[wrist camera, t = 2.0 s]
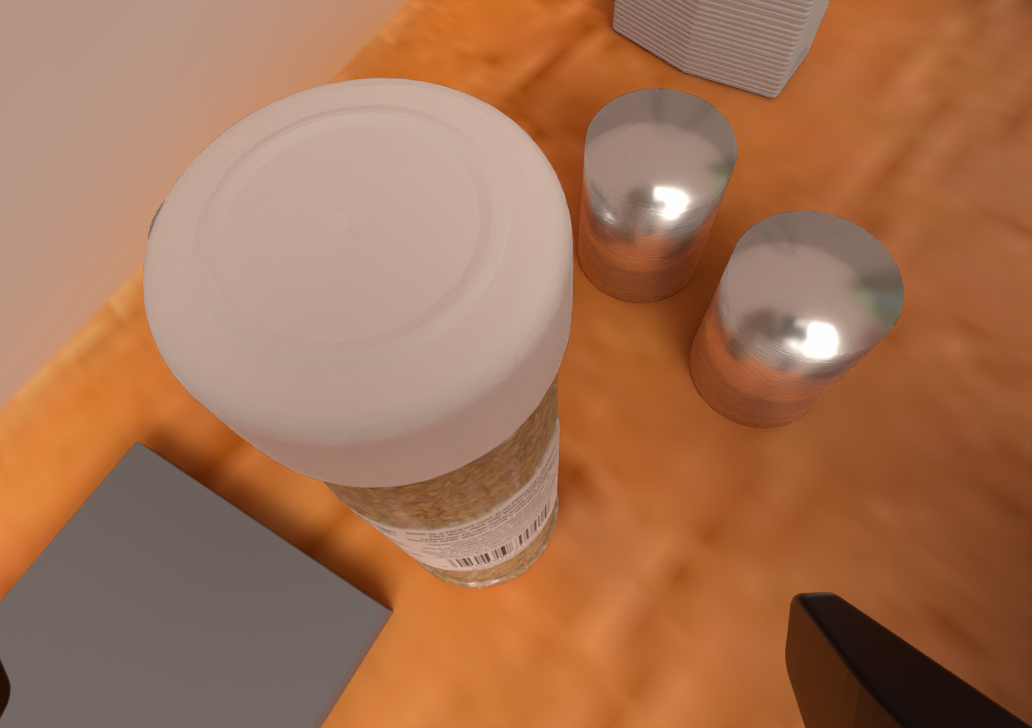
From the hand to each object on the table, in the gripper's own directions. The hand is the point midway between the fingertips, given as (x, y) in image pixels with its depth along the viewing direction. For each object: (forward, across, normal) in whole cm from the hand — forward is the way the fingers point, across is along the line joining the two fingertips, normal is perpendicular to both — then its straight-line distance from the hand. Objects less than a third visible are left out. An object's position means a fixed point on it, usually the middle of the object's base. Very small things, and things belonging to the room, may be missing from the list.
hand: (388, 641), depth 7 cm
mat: (+8, +9, +8) cm, 14 cm away
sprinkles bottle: (+10, 0, +5) cm, 12 cm away
